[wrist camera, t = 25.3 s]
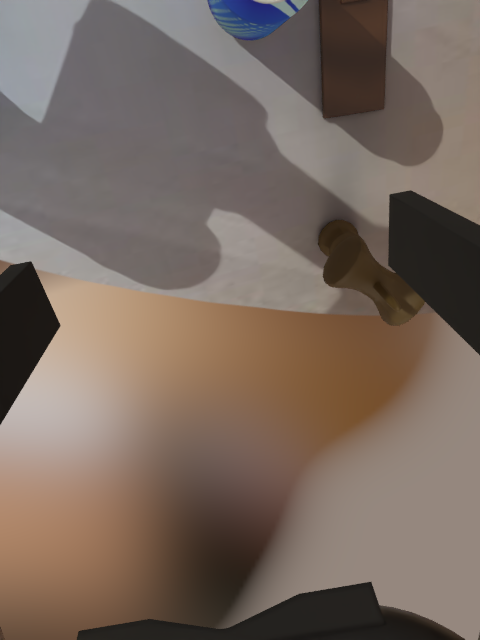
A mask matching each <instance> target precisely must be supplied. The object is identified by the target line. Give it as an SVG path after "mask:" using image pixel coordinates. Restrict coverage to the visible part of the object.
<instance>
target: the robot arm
mask: <svg viewBox="0 0 480 640" xmlns="http://www.w3.org/2000/svg"><path fill="white" fill-rule="evenodd" d="M388 265H389V266H390V267H391V268H392V269H393V270H394V271H395V272H396V273H397V274H398V275H399V276H400V277H401V278H402V279H403V280H404V281H405V282H406V283H407V284H408V285H409V286H410V287H411V288H412V289H413V290H414V291H415V292H416V293H417V294H418V295H419V296H420V297H421V298H422V299H423V300H424V301H425V302H426V303H427V304H428V305H429V306H430V307H431V308H432V309H433V310H434V311H435V312H436V313H437V314H438V315H440V316H441V317H442V318H443V319H444V320H445V321H446V322H447V323H448V324H449V325H450V326H451V327H452V328H453V329H454V330H455V331H456V332H457V333H458V334H459V335H460V336H461V337H462V338H463V339H464V340H465V341H466V342H467V343H468V344H469V345H470V346H471V347H472V348H473V349H474V350H475V351H476V352H477V353H478V354H479V355H480V225H478V224H476V223H474V222H472V221H470V220H468V219H466V218H464V217H462V216H460V215H458V214H456V213H454V212H452V211H450V210H448V209H446V208H444V207H442V206H440V205H438V204H437V203H435V202H433V201H431V200H429V199H427V198H425V197H423V196H421V195H419V194H417V193H415V192H413V191H406V192H400V193H395V194H390V203H389V258H388ZM59 327H60V323H59V321H58V319H57V317H56V315H55V312H54V310H53V308H52V306H51V304H50V301H49V299H48V297H47V295H46V293H45V290H44V288H43V286H42V284H41V282H40V279H39V277H38V275H37V273H36V271H35V268H34V266H33V264H32V262H25V263H20V264H15V265H10V266H9V267H8V268H7V269H6V270H5V271H4V272H3V273H2V274H1V275H0V424H1V423H2V421H3V420H4V418H5V416H6V415H7V413H8V411H9V410H10V408H11V406H12V405H13V403H14V401H15V400H16V398H17V396H18V395H19V393H20V391H21V390H22V388H23V387H24V385H25V383H26V382H27V379H28V378H29V377H30V375H31V373H32V372H33V370H34V368H35V366H36V365H37V363H38V362H39V360H40V358H41V357H42V355H43V353H44V352H45V350H46V349H47V347H48V345H49V344H50V342H51V340H52V339H53V337H54V335H55V334H56V332H57V330H58V329H59ZM0 640H5V638H4V636H3V633H2V630H1V628H0ZM77 640H465V639H464V638H462V637H461V636H459V635H457V634H456V633H455V632H453V631H451V630H449V629H447V628H446V627H444V626H442V625H440V624H438V623H436V622H434V621H432V620H429V619H427V618H425V617H422V616H420V615H417V614H415V613H412V612H409V611H405V610H401V609H397V608H394V607H387V606H380V605H379V604H378V601H377V598H376V595H375V592H374V589H373V586H372V583H371V582H367V583H361V584H356V585H350V586H343V587H338V588H332V589H326V590H320V591H314V592H308V593H302V594H298V595H296V596H294V597H292V598H290V599H288V600H285V601H283V602H281V603H279V604H277V605H275V606H273V607H271V608H269V609H267V610H265V611H263V612H261V613H259V614H257V615H255V616H253V617H251V618H249V619H247V620H245V621H242V622H240V623H238V624H236V625H234V626H232V627H230V628H226V629H214V628H207V627H200V626H194V625H187V624H179V623H172V622H166V621H159V620H152V619H148V620H141V621H136V622H130V623H124V624H118V625H112V626H106V627H100V628H94V629H88V630H82V631H79V632H78V637H77ZM478 640H480V634H479V638H478Z"/></svg>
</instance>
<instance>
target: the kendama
mask: <svg viewBox="0 0 480 640" xmlns="http://www.w3.org/2000/svg"><path fill="white" fill-rule="evenodd" d="M318 245H319V247H320V249H321V251H322V252H323V253H324V254H325V255H326V256H329V258H328V259H327V262H326V264H325V266H324V271H323V278H324V281H325V283H326V284H328V285H329V286H331V287H336V288H350V289H355V290H357V291H360V292H362V293H363V294H365V295H367V296H368V297H369V298H371V299H372V300H373V302H374V303H375V305H376V306H377V309H378V311H379V313H380V315H381V318H382V319H383V321H385V322H386V323H387V324H389V325H393V326H399V325H401V324H403V323H406V322H408V321H409V320H410V319H411V318H412V317H414V316H415V315H416V314H417V313H418V311H419V310H420V309H421V307H422V306H423V305H424V303H425V301H424V300H423V299H422V298H421V297H420V296H419V295H418V294H417V293H416V292H415V291H414V290H413V289H412V288H411V287H410V286H409V285H408V284H407V283H406V282H405V281H404V280H403V279H402V278H401V277H400V276H399V275H398V274H397V273H393V272H391V271H389V270H387V269H386V268H384V267H383V266H382V265H380V264H379V263H378V262H377V261H376V260H375V259H374V258H373V256H372V255H371V253H370V251H369V249H368V247H367V245H366V243H365V242H364V240H363V239H362V238H361V237H360V236H359V235H358V232H357V230H356V228H355V227H354V226H353V225H352V224H351V223H349V222H347V221H344V220H335V221H333V222H330V223H328V224H327V225H326V226H325V227H324V228H323V230H322V232H321V233H320V235H319V240H318Z"/></svg>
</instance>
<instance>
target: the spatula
mask: <svg viewBox="0 0 480 640" xmlns="http://www.w3.org/2000/svg"><path fill="white" fill-rule="evenodd" d="M387 11H388V0H319V12H320V43H321V74H322V105H323V118H331V117H337V116H343V115H350V114H356V113H362V112H368V111H375V110H381V109H384V97H385V68H386V40H387Z"/></svg>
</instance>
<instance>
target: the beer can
mask: <svg viewBox="0 0 480 640" xmlns="http://www.w3.org/2000/svg"><path fill="white" fill-rule="evenodd" d="M307 1H308V0H208V4H209V7H210V10H211V12H212V14H213V16H214V18H215V20H216V21H217V23H218V24H219V25H220V26H221V27H222V28H223V29H224V30H225V31H226V32H227V33H229V34H230V35H232V36H234V37H236V38H238V39H242V40H257V39H261V38H263V37H266V36H267V35H269V34H271V33H272V32H273V31H274V30H276V29H277V28H278V27H279V26H281V25H282V24H283V23H284V22H285V21H287V20H288V19H289V18H290V17H292V16H293V15H294V14H295V13H296V12H298V11H299V10H300V9H301V8H302V7H303V6H304V5H305V3H306V2H307Z"/></svg>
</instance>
